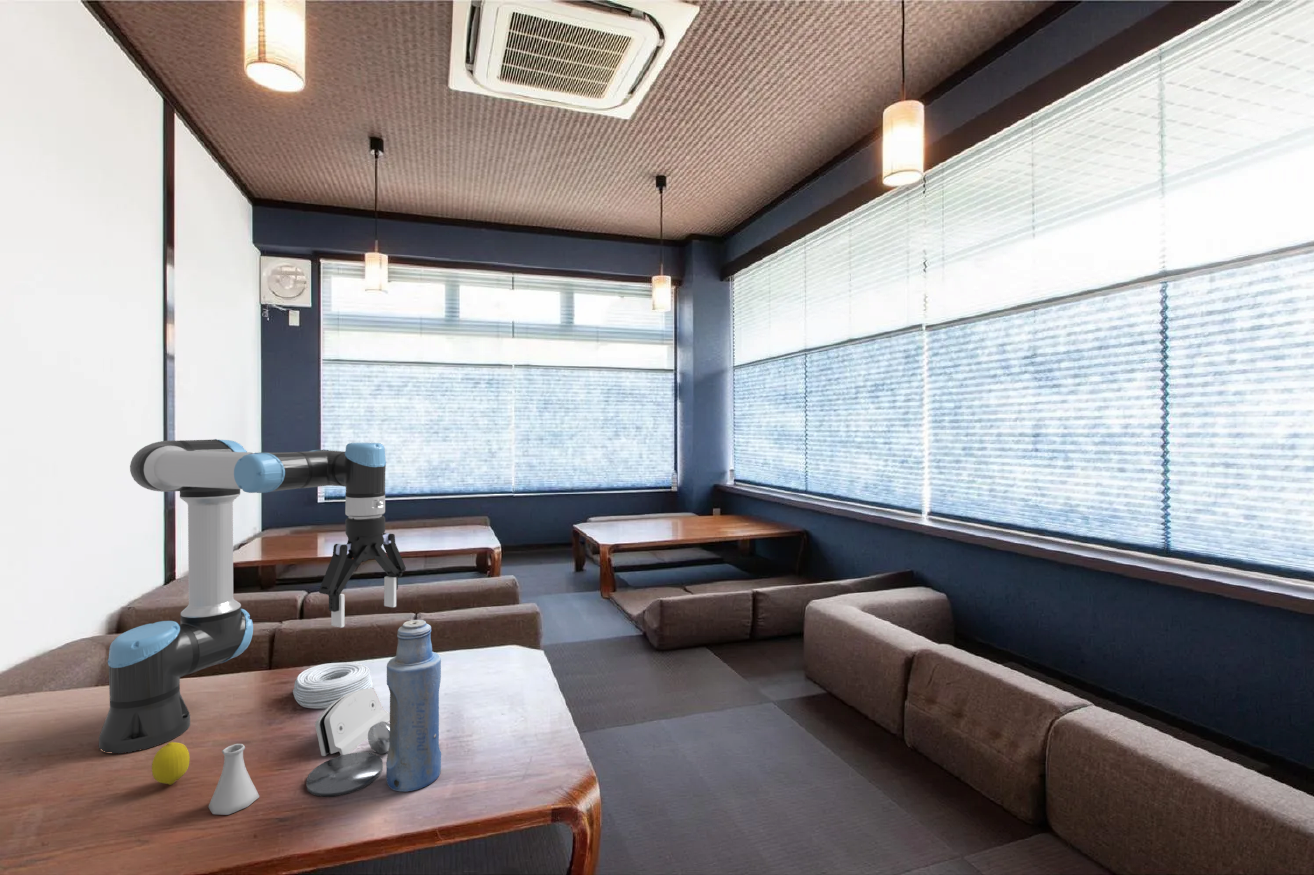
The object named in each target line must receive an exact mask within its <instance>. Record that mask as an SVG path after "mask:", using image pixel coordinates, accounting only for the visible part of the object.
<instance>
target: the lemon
mask: <svg viewBox="0 0 1314 875" xmlns="http://www.w3.org/2000/svg"><path fill="white" fill-rule="evenodd" d="M190 756H191V755H190V752H189V749H188V747H187V746H186V745H185V744H183V743H181V742H174V741H168V743H167V744H165V745H164V746H162V747H161V748H160V749H159V750H157V751H156V754H155V755H154V757H153V760H152V763H151V772H152V776H153V777H152V778H153V779H155V781H157V782H158V783H159V784H167V785H169V786H171V785H173V784H175V782H176V781H177V780H179V779H181V778H182V777H183V776H184V775H185V773H186V772H187V771H188V768H189V766H190V759H191V758H190Z"/></svg>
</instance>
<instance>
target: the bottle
mask: <svg viewBox="0 0 1314 875" xmlns="http://www.w3.org/2000/svg"><path fill="white" fill-rule="evenodd" d="M431 632H432V626H431V625H430V624H428V623H427V622H426V620H423V619H411V620H407V621H405V622H404V623H403V624H402V626H399V628H398V629H397V633H396V636H397V647H396V655H395V656H394V657H391V659H389V661H388V662H387V663H386V685H387V687H388V690H389V714H390V721H389V724H390V736H389V738H390V741H389V750H388V751H387V757H386V763H385V765H386V772H385V774H386V784H387V785H388V787H389V788H390V789H391V790H393V791H397V792H412V791H417V790H420V789H423V788H424V787H427V786H429V785H431V784H432V783H433V782H435V781H436V780H437V779H438V778H439V777H440V774H441V771H442V770H441V769H442V751H441V749H440V742H439V741H440V689H441V688H440V687H441V686H440V685H441V681H442V680H441V679H442V657H441V655H440V654H438V653H437V652H434V651H433V644H432V640H431V635H432V634H431Z"/></svg>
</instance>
